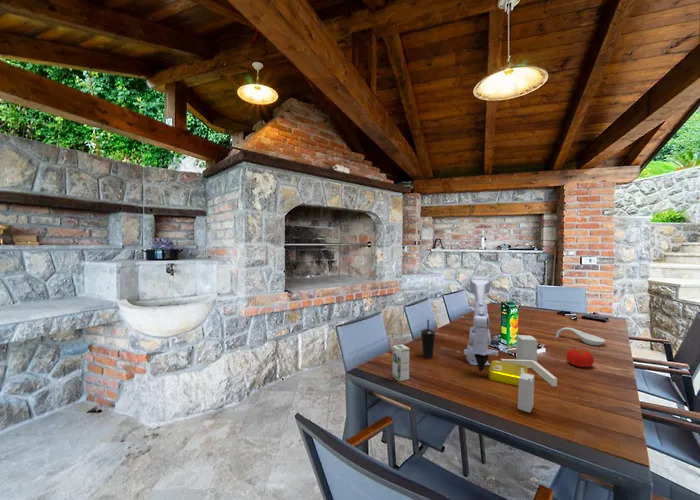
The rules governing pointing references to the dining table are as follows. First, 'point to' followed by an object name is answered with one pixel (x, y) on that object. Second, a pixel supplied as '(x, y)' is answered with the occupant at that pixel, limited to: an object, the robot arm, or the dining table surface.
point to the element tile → (506, 372)
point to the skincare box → (526, 392)
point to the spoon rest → (584, 336)
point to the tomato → (580, 357)
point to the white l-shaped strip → (535, 369)
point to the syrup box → (400, 362)
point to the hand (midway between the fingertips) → (480, 370)
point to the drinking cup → (428, 341)
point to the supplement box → (526, 348)
